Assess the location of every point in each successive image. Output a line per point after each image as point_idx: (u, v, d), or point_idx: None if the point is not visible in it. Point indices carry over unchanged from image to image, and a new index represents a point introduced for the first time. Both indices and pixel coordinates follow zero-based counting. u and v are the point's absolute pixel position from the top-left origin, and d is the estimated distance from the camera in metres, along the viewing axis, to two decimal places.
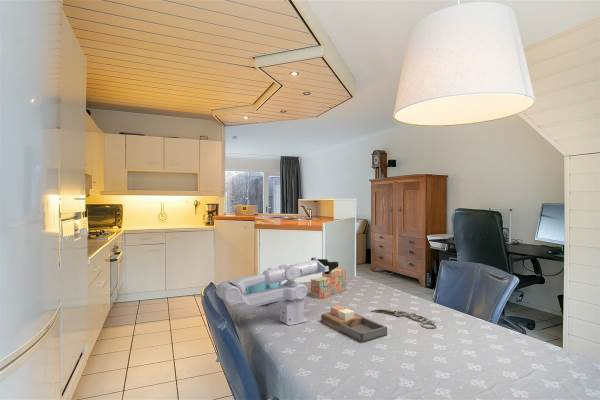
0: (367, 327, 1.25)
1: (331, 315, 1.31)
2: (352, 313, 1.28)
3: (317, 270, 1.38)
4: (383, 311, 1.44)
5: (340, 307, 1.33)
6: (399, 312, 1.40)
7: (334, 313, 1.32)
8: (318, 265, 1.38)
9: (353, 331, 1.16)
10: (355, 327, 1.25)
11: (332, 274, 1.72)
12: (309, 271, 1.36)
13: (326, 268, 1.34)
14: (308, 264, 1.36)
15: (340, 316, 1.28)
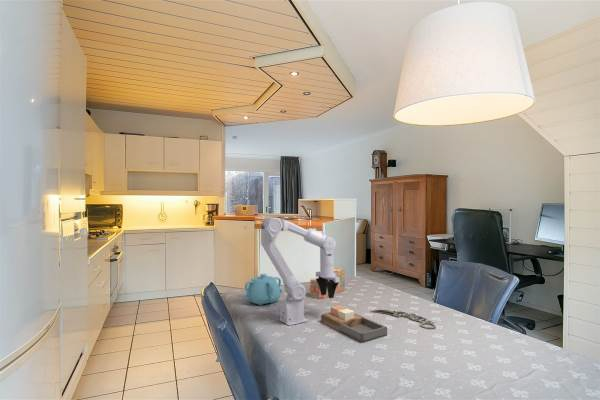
0: (367, 327, 1.25)
1: (331, 315, 1.31)
2: (352, 313, 1.28)
3: (328, 274, 1.37)
4: (382, 311, 1.43)
5: (340, 307, 1.33)
6: (398, 312, 1.40)
7: (334, 313, 1.32)
8: (332, 275, 1.38)
9: (353, 331, 1.16)
10: (355, 327, 1.25)
11: None
12: (328, 264, 1.37)
13: (338, 279, 1.34)
14: (333, 264, 1.39)
15: (340, 316, 1.28)
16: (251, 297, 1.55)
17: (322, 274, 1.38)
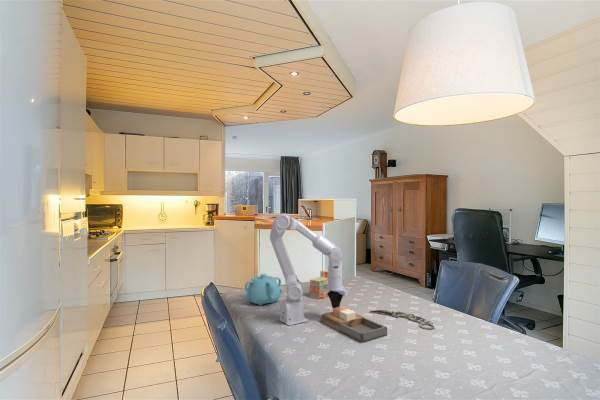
0: (367, 327, 1.25)
1: (331, 315, 1.31)
2: (354, 314, 1.27)
3: (337, 287, 1.32)
4: (381, 312, 1.43)
5: (342, 308, 1.32)
6: (397, 313, 1.40)
7: (336, 314, 1.30)
8: (341, 288, 1.33)
9: (353, 331, 1.16)
10: (355, 327, 1.25)
11: None
12: (334, 277, 1.32)
13: (347, 293, 1.29)
14: None
15: (341, 317, 1.28)
16: (251, 297, 1.55)
17: (330, 287, 1.33)
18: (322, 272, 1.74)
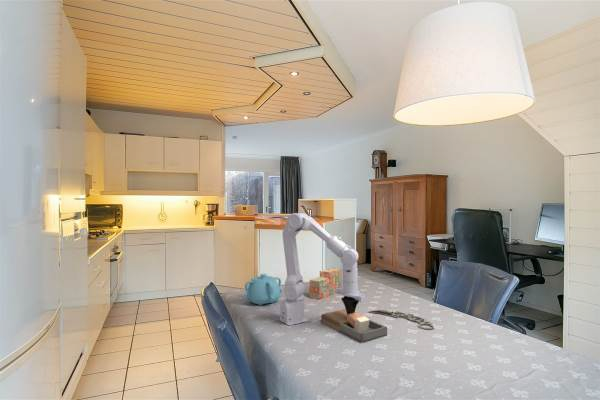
0: None
1: (331, 315, 1.31)
2: None
3: (352, 292, 1.24)
4: (380, 312, 1.42)
5: (358, 316, 1.24)
6: (396, 313, 1.39)
7: (351, 322, 1.23)
8: (357, 293, 1.25)
9: (353, 331, 1.16)
10: None
11: (330, 274, 1.72)
12: (346, 281, 1.24)
13: (363, 298, 1.21)
14: (357, 281, 1.26)
15: (356, 322, 1.20)
16: (251, 297, 1.55)
17: (345, 292, 1.25)
18: (321, 272, 1.74)
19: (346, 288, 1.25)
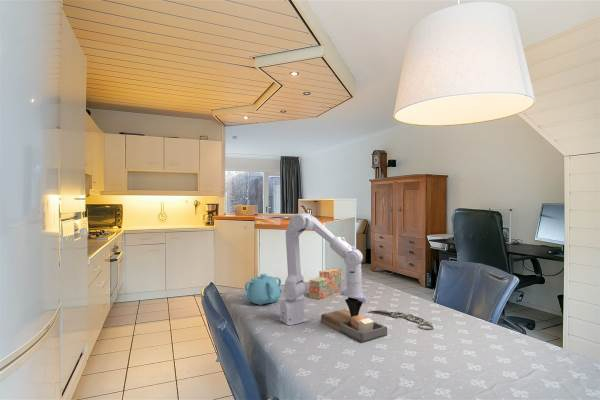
0: None
1: (331, 315, 1.31)
2: None
3: (356, 294, 1.22)
4: (380, 312, 1.42)
5: (362, 318, 1.22)
6: (396, 313, 1.39)
7: (355, 324, 1.21)
8: (361, 294, 1.23)
9: (353, 331, 1.16)
10: (355, 327, 1.25)
11: (329, 274, 1.72)
12: (350, 282, 1.23)
13: (367, 300, 1.19)
14: (361, 282, 1.24)
15: (360, 324, 1.18)
16: (251, 297, 1.55)
17: (349, 293, 1.23)
18: (321, 272, 1.74)
19: (350, 289, 1.23)
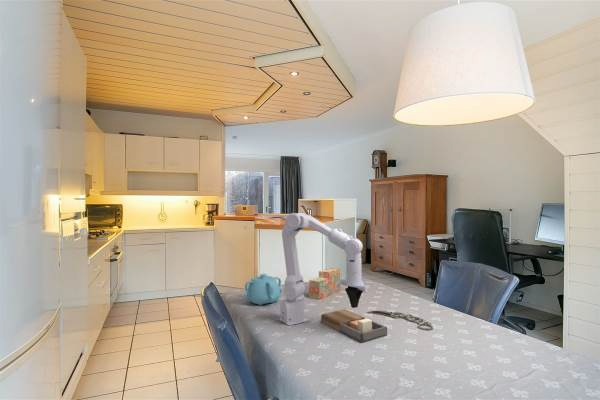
0: None
1: (331, 315, 1.31)
2: None
3: (356, 282, 1.22)
4: (379, 312, 1.42)
5: None
6: (395, 313, 1.39)
7: None
8: (360, 283, 1.23)
9: (353, 331, 1.16)
10: None
11: (329, 274, 1.72)
12: (350, 271, 1.23)
13: (367, 288, 1.19)
14: (361, 271, 1.24)
15: (359, 325, 1.19)
16: (251, 297, 1.55)
17: (349, 282, 1.23)
18: (320, 272, 1.74)
19: (350, 278, 1.23)
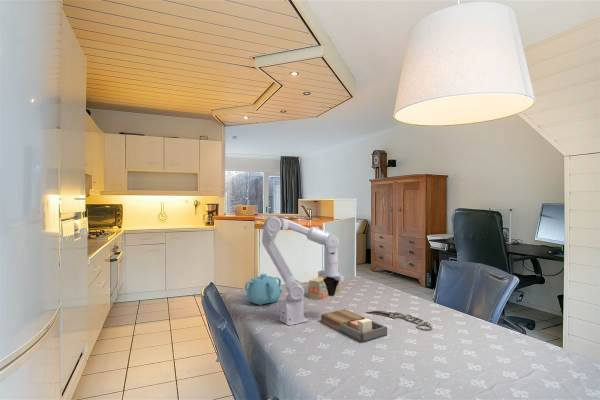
0: None
1: (331, 315, 1.31)
2: None
3: (332, 273, 1.34)
4: (378, 312, 1.42)
5: None
6: (394, 313, 1.39)
7: None
8: (337, 274, 1.35)
9: (353, 331, 1.16)
10: None
11: None
12: (330, 263, 1.34)
13: (342, 278, 1.31)
14: (337, 263, 1.37)
15: (359, 325, 1.19)
16: (251, 297, 1.55)
17: (326, 273, 1.35)
18: None
19: (327, 269, 1.35)
